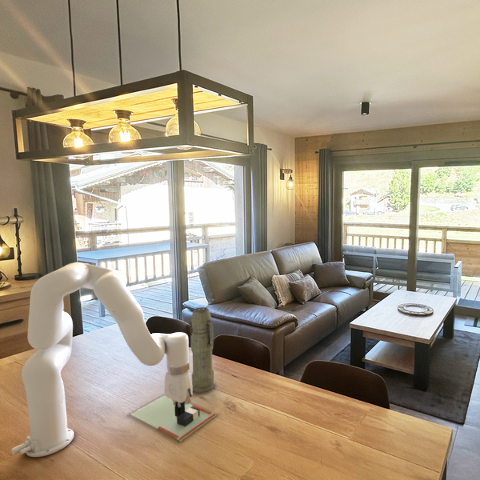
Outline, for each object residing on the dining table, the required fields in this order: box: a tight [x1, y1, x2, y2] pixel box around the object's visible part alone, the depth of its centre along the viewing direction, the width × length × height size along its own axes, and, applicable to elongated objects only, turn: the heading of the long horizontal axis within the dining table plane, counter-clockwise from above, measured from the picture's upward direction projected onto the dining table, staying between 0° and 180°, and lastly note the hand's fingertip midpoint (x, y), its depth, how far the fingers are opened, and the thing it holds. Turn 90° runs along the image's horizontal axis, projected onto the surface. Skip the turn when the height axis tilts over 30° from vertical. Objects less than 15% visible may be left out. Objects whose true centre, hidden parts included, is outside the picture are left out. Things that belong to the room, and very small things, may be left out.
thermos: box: [189, 306, 215, 394], centre depth 146 cm, size 9×12×35 cm
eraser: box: [177, 407, 200, 427], centre depth 126 cm, size 7×4×3 cm, turn 155°
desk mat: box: [130, 394, 217, 442], centre depth 129 cm, size 16×28×1 cm, turn 61°
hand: (180, 414), depth 127 cm, fingers closed
